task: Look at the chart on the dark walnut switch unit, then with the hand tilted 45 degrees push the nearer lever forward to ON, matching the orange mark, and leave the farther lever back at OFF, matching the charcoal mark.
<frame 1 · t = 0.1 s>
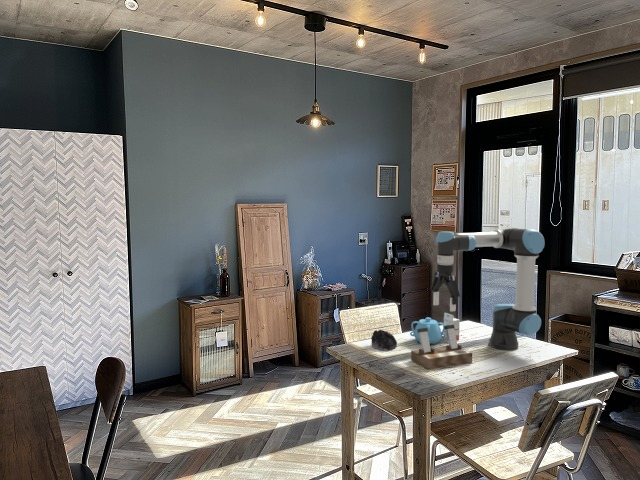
hand: (444, 308, 232), 28 cm above the table, tool pointing down, fingers open, 13 cm apart
lever 1: (424, 340, 238), point 11 cm above the table, hinge at 22.0°
switch unit: (441, 361, 239), on the table
lever 2: (451, 336, 244), point 11 cm above the table, hinge at 22.0°
black rock: (383, 347, 262), on the table
decorative pot: (427, 341, 272), on the table
ink cartridge box: (451, 338, 278), on the table
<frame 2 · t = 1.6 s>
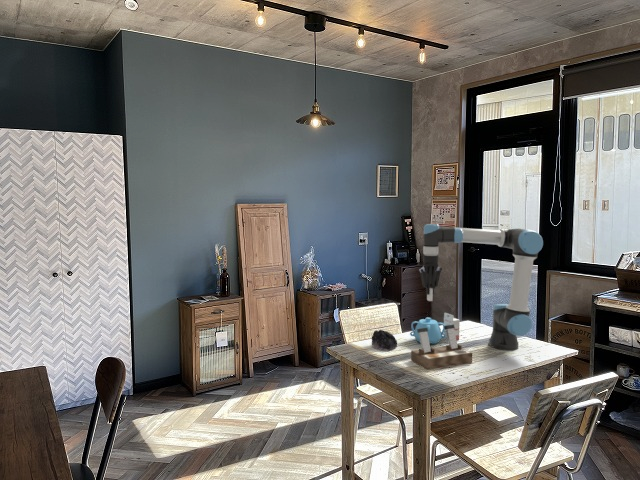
hand: (429, 300, 246), 28 cm above the table, tool pointing down, fingers closed
nothing on the table moved.
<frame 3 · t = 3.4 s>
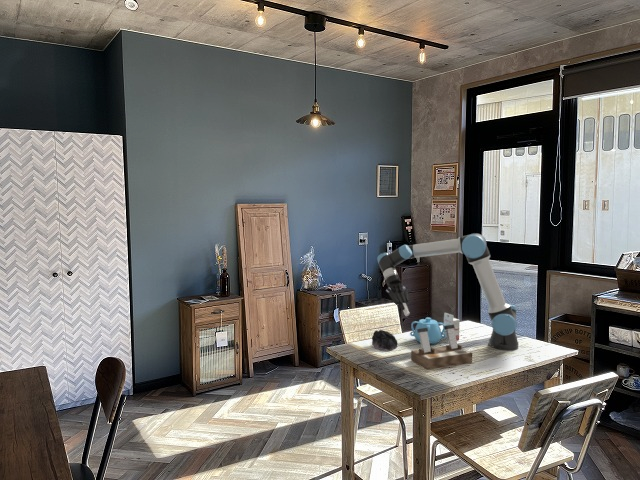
hand: (407, 314, 251), 20 cm above the table, tool tilted 45°, fingers closed
nothing on the table moved.
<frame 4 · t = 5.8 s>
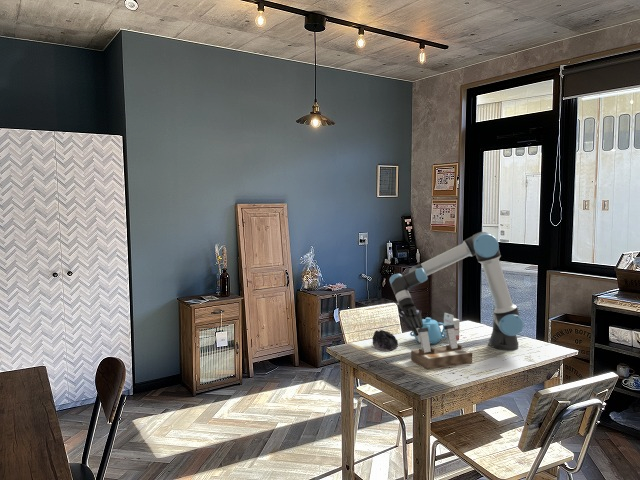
hand: (421, 341, 239), 10 cm above the table, tool tilted 45°, fingers closed
lever 1: (424, 340, 238), point 11 cm above the table, hinge at 20.0°, touching gripper
everything else where it was.
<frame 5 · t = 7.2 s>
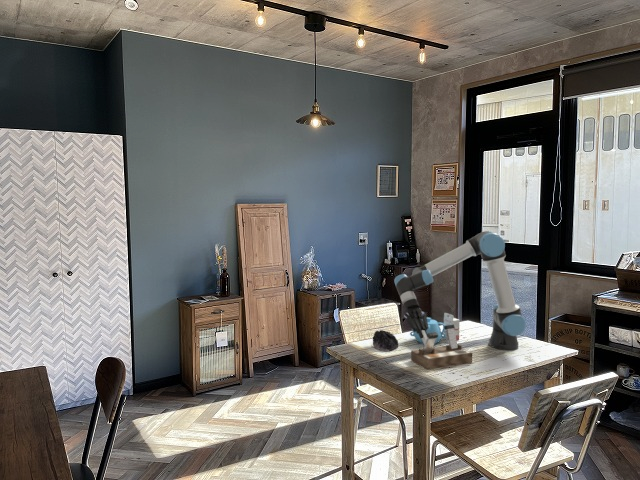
hand: (426, 343, 235), 10 cm above the table, tool tilted 45°, fingers closed
lever 1: (429, 343, 233), point 11 cm above the table, hinge at -25.4°, touching gripper
everything else where it was.
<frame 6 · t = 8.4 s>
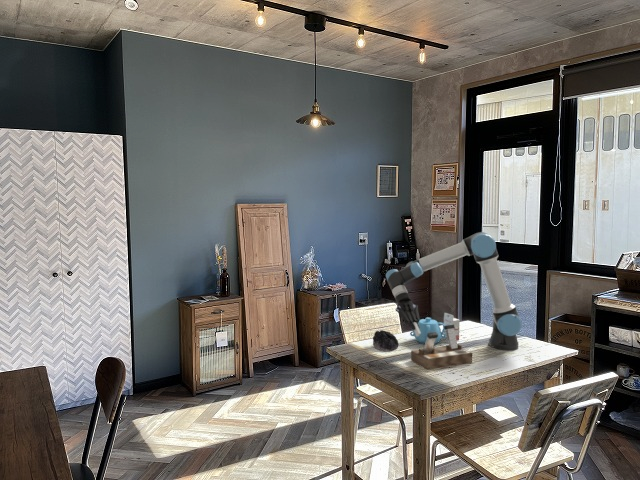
hand: (418, 334, 242), 12 cm above the table, tool tilted 45°, fingers closed
lever 1: (429, 343, 233), point 11 cm above the table, hinge at -25.0°
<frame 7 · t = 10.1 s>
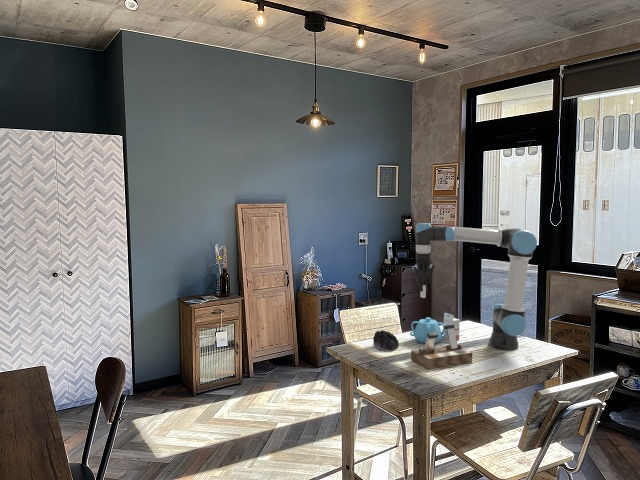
hand: (422, 297, 254), 29 cm above the table, tool pointing down, fingers closed
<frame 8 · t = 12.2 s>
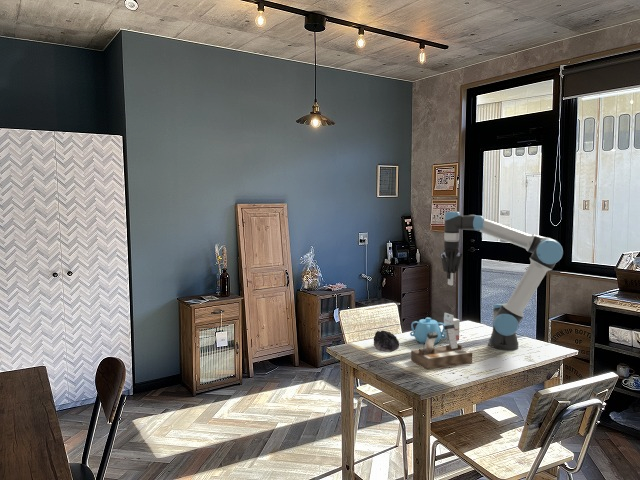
hand: (450, 284, 258), 34 cm above the table, tool pointing down, fingers closed
at the end: lever 1 at -25° (first picture: +22°); lever 2 at +22° (first picture: +22°) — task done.
